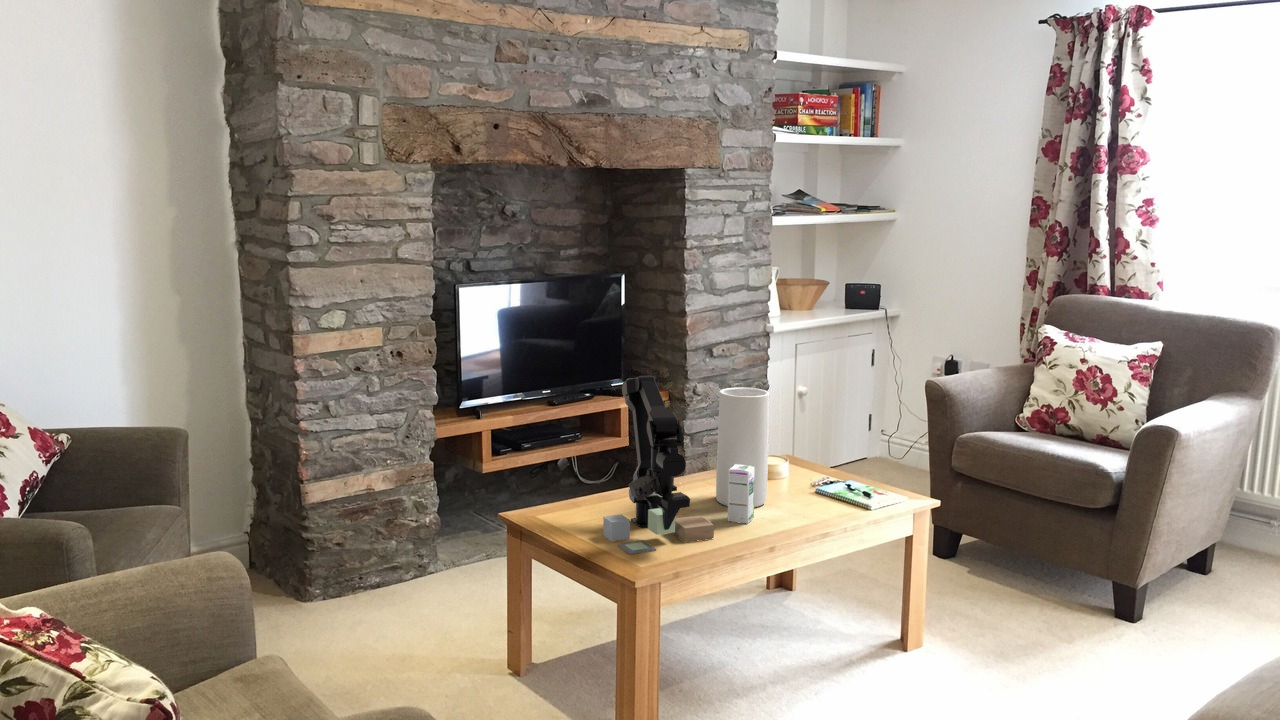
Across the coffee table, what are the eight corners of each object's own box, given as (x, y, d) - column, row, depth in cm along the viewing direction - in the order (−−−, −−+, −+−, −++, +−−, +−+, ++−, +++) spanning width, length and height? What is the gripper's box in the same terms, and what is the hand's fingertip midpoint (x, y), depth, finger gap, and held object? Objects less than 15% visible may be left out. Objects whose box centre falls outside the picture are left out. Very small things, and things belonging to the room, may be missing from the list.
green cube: (647, 528, 258) (648, 509, 257) (665, 526, 260) (665, 507, 259) (657, 534, 253) (657, 515, 253) (675, 532, 256) (675, 512, 255)
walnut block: (671, 533, 264) (672, 518, 263) (700, 530, 266) (700, 515, 266) (684, 543, 256) (684, 528, 256) (713, 540, 259) (714, 524, 258)
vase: (739, 491, 301) (742, 385, 296) (777, 502, 290) (781, 392, 285) (705, 500, 291) (707, 391, 286) (743, 512, 281) (746, 399, 276)
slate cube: (603, 535, 261) (603, 516, 260) (621, 533, 263) (621, 514, 262) (611, 541, 256) (611, 522, 255) (629, 539, 258) (630, 519, 258)
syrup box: (748, 524, 271) (749, 471, 269) (726, 521, 273) (728, 468, 271) (753, 518, 276) (755, 465, 274) (732, 515, 278) (734, 463, 276)
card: (617, 545, 253) (617, 543, 253) (643, 541, 256) (643, 539, 256) (630, 554, 247) (630, 552, 247) (656, 550, 250) (656, 548, 250)
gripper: (616, 460, 259) (616, 519, 261) (650, 478, 242) (649, 542, 245) (656, 455, 264) (655, 514, 266) (692, 473, 247) (690, 536, 250)
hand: (661, 526), depth 257 cm, fingers closed on green cube, 5 cm apart
